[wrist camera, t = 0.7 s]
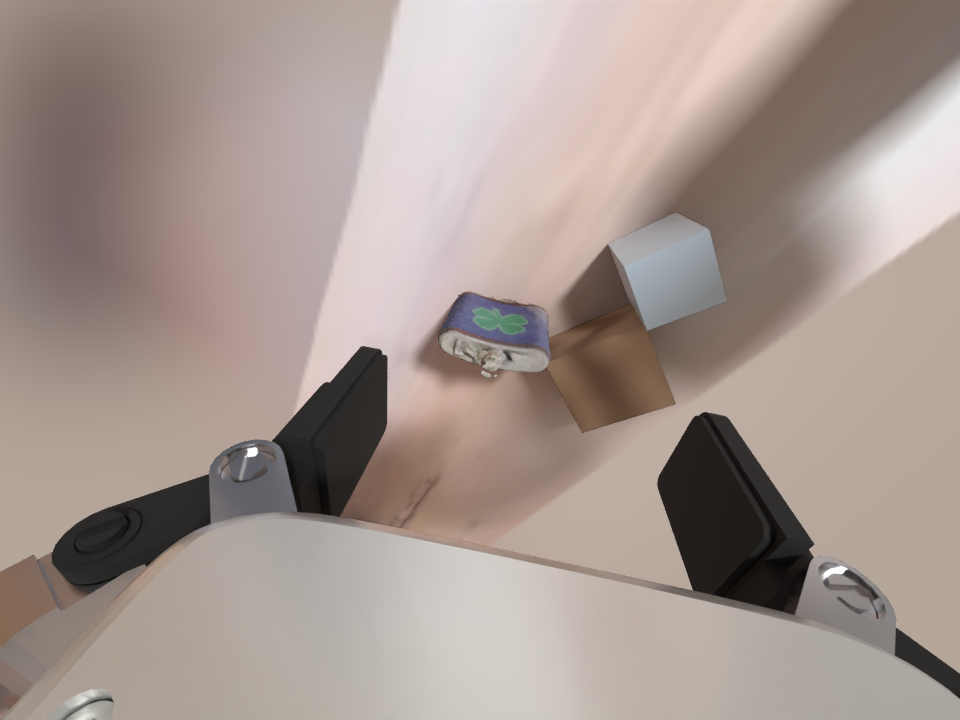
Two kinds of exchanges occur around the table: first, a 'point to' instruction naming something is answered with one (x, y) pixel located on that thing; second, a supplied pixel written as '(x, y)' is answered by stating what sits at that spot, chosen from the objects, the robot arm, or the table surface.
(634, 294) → the pale blue cube
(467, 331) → the clover trinket box
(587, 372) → the block
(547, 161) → the table surface
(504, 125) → the table surface
